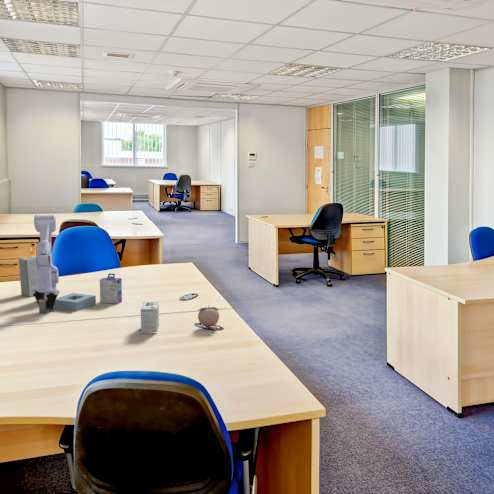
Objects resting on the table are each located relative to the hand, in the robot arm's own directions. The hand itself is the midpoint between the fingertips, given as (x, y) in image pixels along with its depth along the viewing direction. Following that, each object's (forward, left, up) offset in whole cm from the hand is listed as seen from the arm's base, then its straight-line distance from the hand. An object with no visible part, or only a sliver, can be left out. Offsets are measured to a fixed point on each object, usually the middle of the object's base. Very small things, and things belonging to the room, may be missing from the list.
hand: (46, 307), depth 244 cm
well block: (+5, +14, -2) cm, 15 cm away
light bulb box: (+59, -3, -2) cm, 59 cm away
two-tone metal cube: (0, 0, -2) cm, 2 cm away
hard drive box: (-30, +26, -2) cm, 40 cm away
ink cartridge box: (+17, +27, -2) cm, 32 cm away
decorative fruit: (+81, +9, -2) cm, 82 cm away
